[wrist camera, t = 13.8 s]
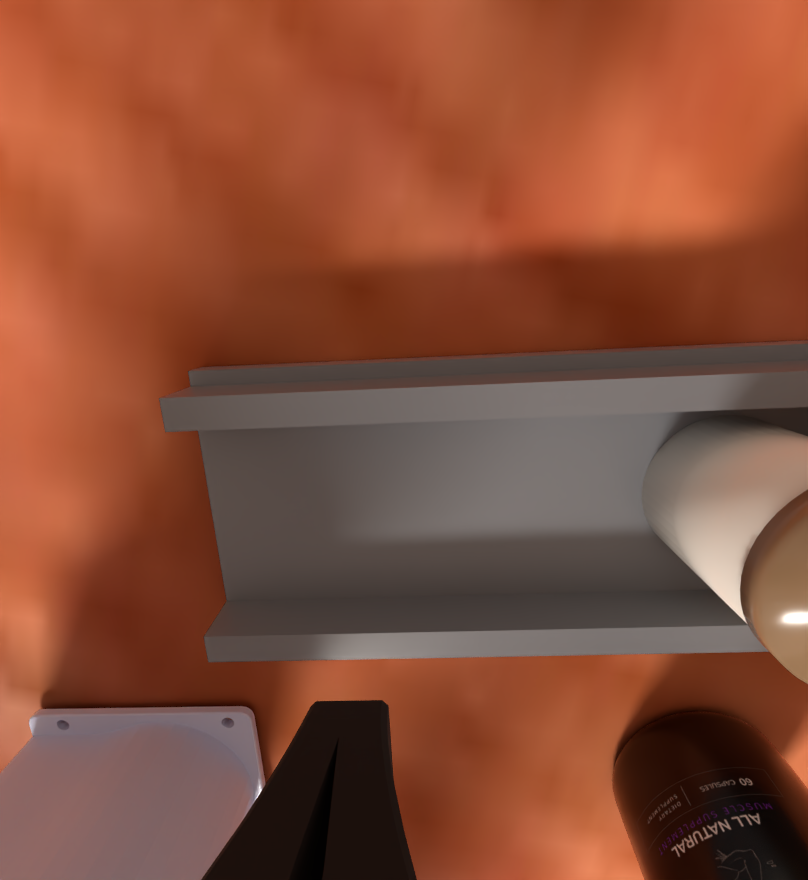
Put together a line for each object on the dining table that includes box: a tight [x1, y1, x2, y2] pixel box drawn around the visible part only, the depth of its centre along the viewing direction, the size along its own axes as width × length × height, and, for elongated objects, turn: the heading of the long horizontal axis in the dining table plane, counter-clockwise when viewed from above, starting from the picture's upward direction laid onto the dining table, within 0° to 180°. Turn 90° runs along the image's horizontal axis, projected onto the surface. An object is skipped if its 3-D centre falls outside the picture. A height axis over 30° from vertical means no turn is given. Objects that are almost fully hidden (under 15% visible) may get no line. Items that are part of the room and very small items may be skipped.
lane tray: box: [159, 340, 808, 662], centre depth 15 cm, size 24×10×6 cm, turn 93°
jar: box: [642, 415, 808, 684], centre depth 13 cm, size 5×5×6 cm
